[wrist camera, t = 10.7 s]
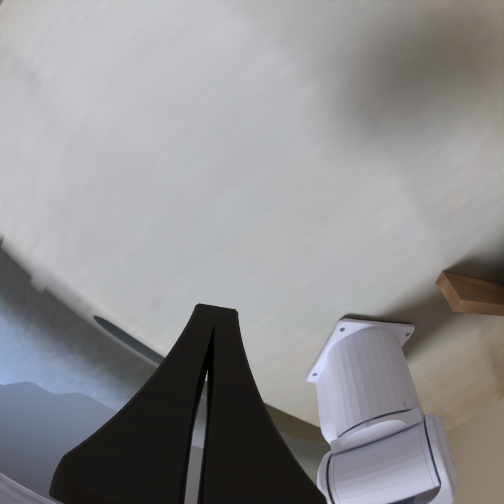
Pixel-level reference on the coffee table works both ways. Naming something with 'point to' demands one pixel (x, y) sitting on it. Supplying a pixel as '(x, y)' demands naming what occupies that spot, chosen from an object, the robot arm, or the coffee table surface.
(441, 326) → the coffee table surface
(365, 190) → the coffee table surface
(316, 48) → the coffee table surface
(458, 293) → the cradle
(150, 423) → the robot arm
